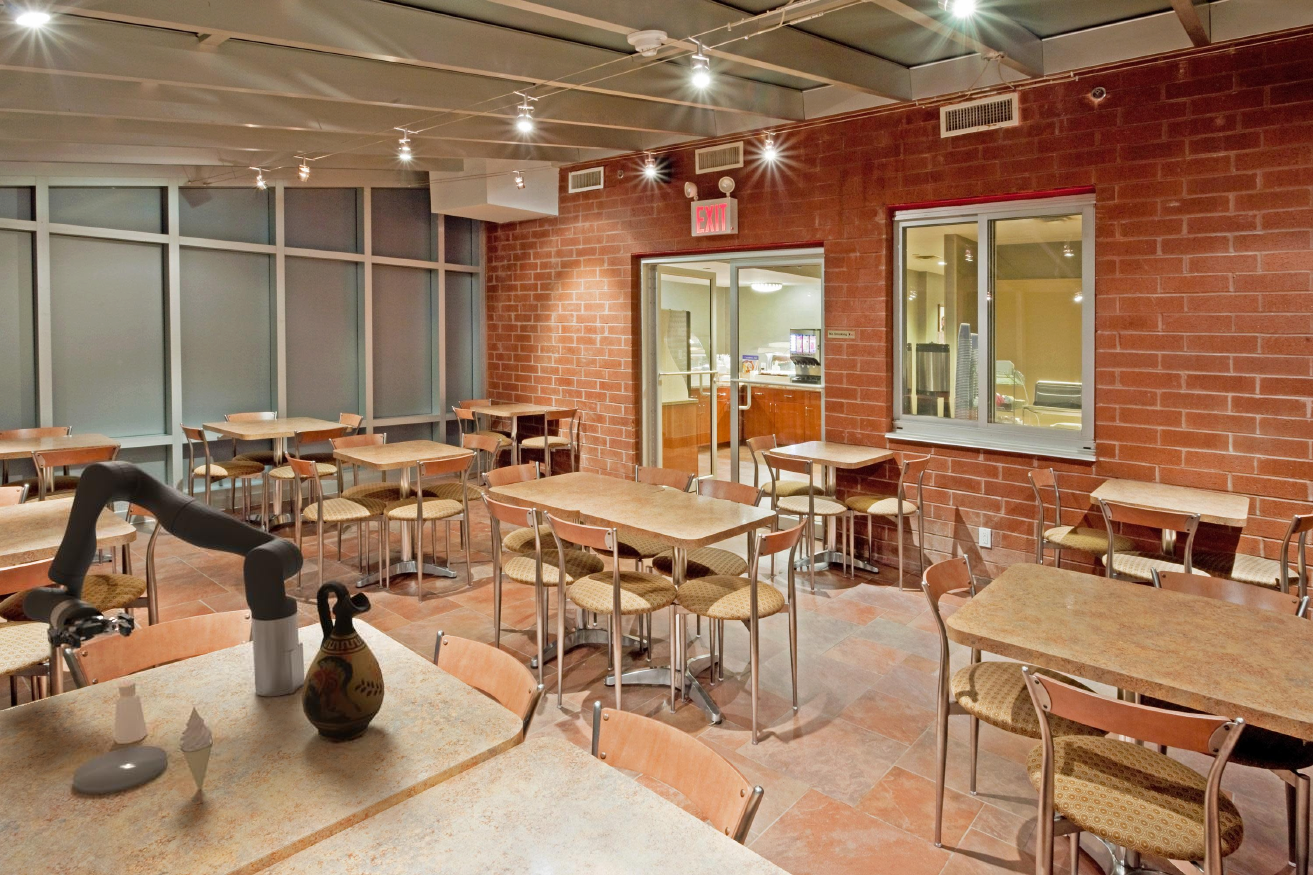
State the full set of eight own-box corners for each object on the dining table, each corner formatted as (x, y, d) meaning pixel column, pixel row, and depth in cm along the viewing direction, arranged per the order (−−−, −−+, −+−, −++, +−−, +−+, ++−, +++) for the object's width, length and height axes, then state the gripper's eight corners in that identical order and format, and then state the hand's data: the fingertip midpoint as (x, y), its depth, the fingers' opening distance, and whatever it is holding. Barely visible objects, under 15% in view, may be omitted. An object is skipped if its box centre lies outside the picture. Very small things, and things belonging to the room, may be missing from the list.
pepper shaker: (153, 733, 159) (150, 680, 158) (127, 746, 154) (123, 691, 153) (133, 728, 161) (129, 676, 159) (107, 741, 156) (103, 687, 154)
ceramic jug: (402, 721, 164) (398, 579, 161) (344, 756, 150) (337, 601, 147) (341, 705, 171) (335, 569, 168) (279, 737, 157) (272, 589, 154)
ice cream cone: (191, 781, 141) (186, 700, 140) (221, 780, 142) (216, 699, 140) (177, 797, 136) (171, 713, 135) (208, 796, 137) (203, 712, 135)
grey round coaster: (183, 753, 151) (183, 745, 151) (135, 794, 137) (134, 786, 137) (109, 752, 151) (109, 745, 151) (53, 793, 137) (53, 785, 137)
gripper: (34, 611, 166) (60, 629, 156) (113, 594, 177) (142, 610, 167) (37, 646, 167) (63, 666, 157) (116, 627, 178) (144, 645, 168)
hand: (103, 637), depth 162 cm, fingers open, 8 cm apart
